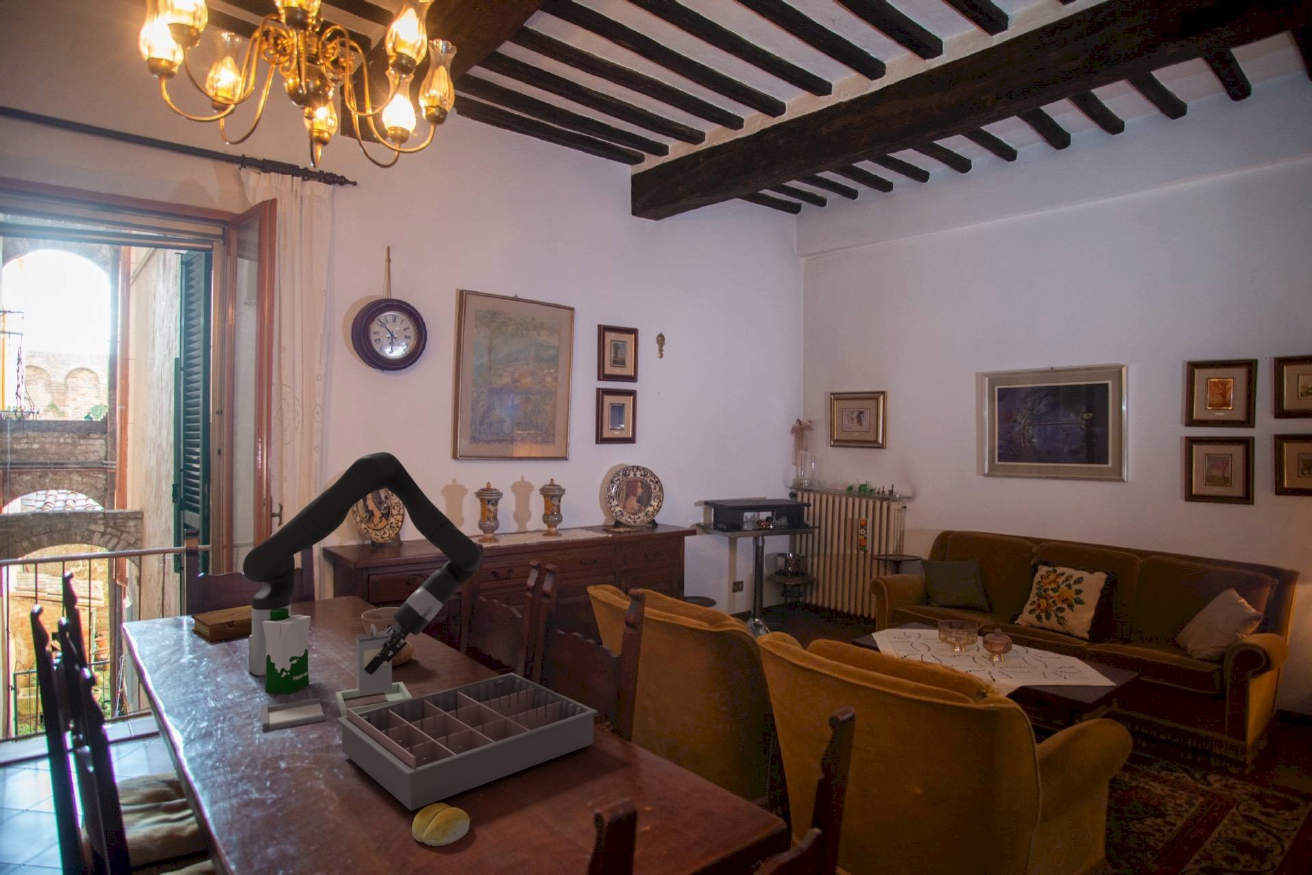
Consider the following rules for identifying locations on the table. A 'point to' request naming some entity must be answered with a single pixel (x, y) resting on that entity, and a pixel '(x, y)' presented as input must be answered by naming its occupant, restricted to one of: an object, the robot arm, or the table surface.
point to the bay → (291, 714)
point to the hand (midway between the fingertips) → (365, 668)
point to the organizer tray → (463, 736)
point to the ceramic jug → (380, 622)
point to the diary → (223, 623)
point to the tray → (392, 696)
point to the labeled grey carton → (365, 653)
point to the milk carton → (286, 651)
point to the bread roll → (440, 824)
